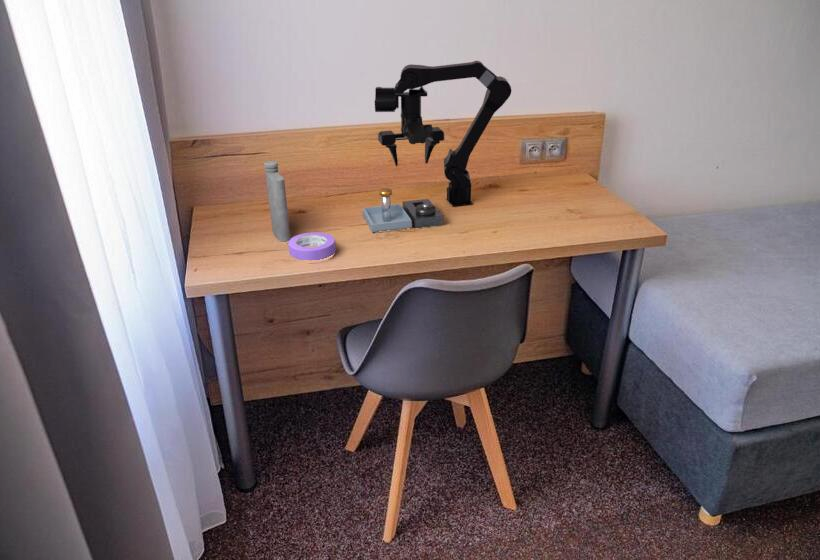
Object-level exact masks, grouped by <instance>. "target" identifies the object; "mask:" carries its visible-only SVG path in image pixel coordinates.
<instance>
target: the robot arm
mask: <svg viewBox="0 0 820 560" xmlns="http://www.w3.org/2000/svg"><path fill="white" fill-rule="evenodd" d="M470 78H471V79H472V78H475V79H477V80H478V81H479V82H480V83H481V84H482V85H483V86H484V87H485V88H486V91H485V94H484V98H483V102H482V105H481V107H479V110H478V111H477V114H476V115H475V117H474V119H473V120H472V122H471V124H470V126H469V128H468V129H467V131H466V132H465V135H464V137H463V138H462V140H461V142H460V143H459V146H457V147H456V148H455V149H454V150H453V149H452V148H450V149H449V150H448V153H447V155H446V156H445V157H444V158H443V170H444V171H443V172H444V177H445V178H446V179H447V180H448V187H446V198H445V199H446V201H447V202H448V203H449V204H450V205H451V206H452V207H460V206H461V207H462V206H470V205H471V206H472V205H473V204H474V202H473V201H472V182H471V177H470V172H469V171H468V169H467V166H468V163H469V160H470V156H471V154H472V152H473V150H474V149H475V147H476V145H477V143H478V142H479V140H480V139H481V137H482V135H483V133H484V131H485V130H486V128H487V127H488V125H489V123H490V121H491V120H492V118H493V117H494V115H495V114H496V112H497V111H498V110H499V109H500V108H501V107H502V106H503V105H504V104H505V103H506V102H507V100H508V99H509V98H510V97H511V94H512V86H511V84H510V83H509V81H508V79H506V78H505V77H503V76H497V75H496V74H495V73H494V72H492V71H491V70H490V69H489V68H488V67H487V66H485V65H484V63H482V61H480V60H473V61H472V62H471V61H469V62H460V63H452V64H444V65H436V66H430V65H429V66H428V65H423V64H407V65H405V66H403V68H402V70H401V71H400V79H399V80H398V81H397V83H395V84H394V87H382V86H376V87H375V91H374V93H375V95H374V96H375V97H374V98H375V99H374V111H375V113H395V112H396V110H397V109H399V108H400V121H401V123H400V124H401V127H400V133H394V131H392V130H381V131H379V132H378V134H377V137H378V138H377V140H378V142H379V144H380V145H381V146H384V147H385V148H388V150H389V152H390V155H391V157H392V161H393V162H394V165H395V167H398V162H399V161H398V152H397V144H396V141H404V140H408V143H409V144H411V145H415V144H424V163H425V164H426V165H427V164H428V162H429V160H430V157H431V155H432V152H433V150H434V148H435V147H436V145H439V144H440V143H441V142H443V141H445V132H444V131H443V130H442V129H441V128H440V127H439V126H433V125H432V124H431V123H430V124H424V123H423V117H422V97H428V91H427V90H425V88H424V86H427V85H429V84H433V83H435V82H436V83H437V82H443V81H453V80H454V81H455V80H461V79H470ZM399 98H400V99H399ZM399 100H400V101H399Z"/></svg>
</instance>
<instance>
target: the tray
mask: <svg viewBox="0 0 820 560" xmlns="http://www.w3.org/2000/svg"><path fill="white" fill-rule="evenodd" d="M390 209H391V221H390V222H383V220H382V205H378V206H377V205H375V206H368V207H362V217H363V216H364V217H363V218H365V219H364V220H366V221H365V223H366V222H367V223H368V224H367V223H366V224H367V226H368V225H369V226H368V228H369V227H370V228H369V229H371V230H370V232H371V231H372V232H379V231H387V230H396V231H398V230H397V229H405V230H408V229H407V228H412V227H413V225H412V220H411V219H410V217H409V216H408V215H407V213H406V212H405V210H404V209H403V205H401V204H400V203H398V204H396V203H394V204H390ZM372 232H371V233H372ZM379 233H380V232H379Z"/></svg>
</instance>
